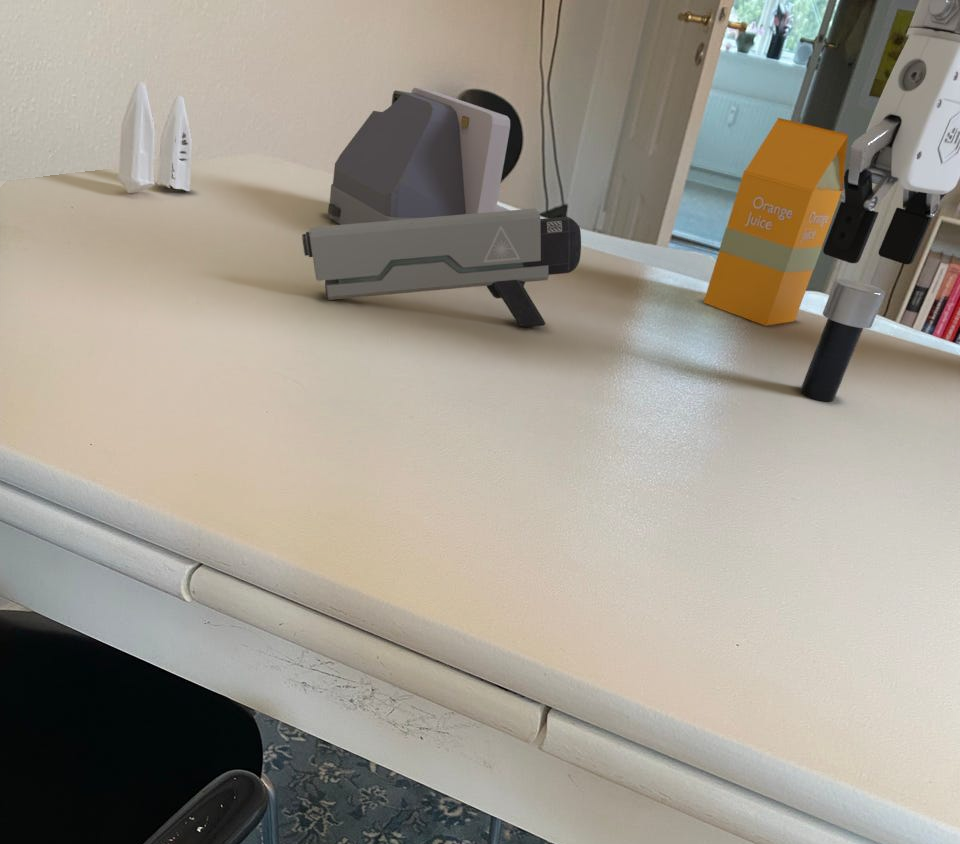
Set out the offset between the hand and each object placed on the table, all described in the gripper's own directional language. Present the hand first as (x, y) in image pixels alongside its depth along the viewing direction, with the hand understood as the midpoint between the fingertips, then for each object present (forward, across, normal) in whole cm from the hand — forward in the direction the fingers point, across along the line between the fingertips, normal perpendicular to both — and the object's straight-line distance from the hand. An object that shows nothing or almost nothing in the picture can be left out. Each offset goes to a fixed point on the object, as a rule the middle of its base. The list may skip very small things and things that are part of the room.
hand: (867, 259), depth 78 cm
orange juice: (+12, +20, +22) cm, 32 cm away
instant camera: (+13, -6, +53) cm, 55 cm away
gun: (+13, -24, +27) cm, 39 cm away
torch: (+12, 0, 0) cm, 12 cm away
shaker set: (+13, -32, +71) cm, 79 cm away
